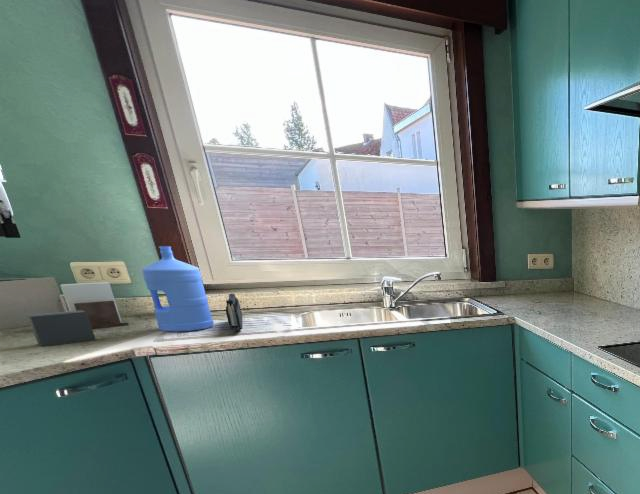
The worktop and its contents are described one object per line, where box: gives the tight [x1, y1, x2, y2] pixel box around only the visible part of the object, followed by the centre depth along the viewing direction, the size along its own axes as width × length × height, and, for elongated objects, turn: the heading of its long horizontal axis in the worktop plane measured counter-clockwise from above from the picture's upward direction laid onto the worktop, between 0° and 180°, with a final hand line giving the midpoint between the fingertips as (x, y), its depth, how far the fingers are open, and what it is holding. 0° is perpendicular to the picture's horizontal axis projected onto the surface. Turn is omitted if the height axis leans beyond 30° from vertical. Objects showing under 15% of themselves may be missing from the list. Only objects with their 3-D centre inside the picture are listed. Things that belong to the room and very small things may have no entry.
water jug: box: [141, 245, 215, 333], centre depth 172 cm, size 16×16×28 cm
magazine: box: [225, 293, 244, 334], centre depth 181 cm, size 17×3×30 cm
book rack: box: [58, 294, 129, 330], centre depth 174 cm, size 14×12×11 cm
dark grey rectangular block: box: [26, 310, 97, 347], centre depth 152 cm, size 12×4×9 cm, turn 147°
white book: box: [59, 281, 123, 322], centre depth 173 cm, size 12×2×14 cm, turn 147°
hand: (9, 237), depth 151 cm, fingers open, 9 cm apart
